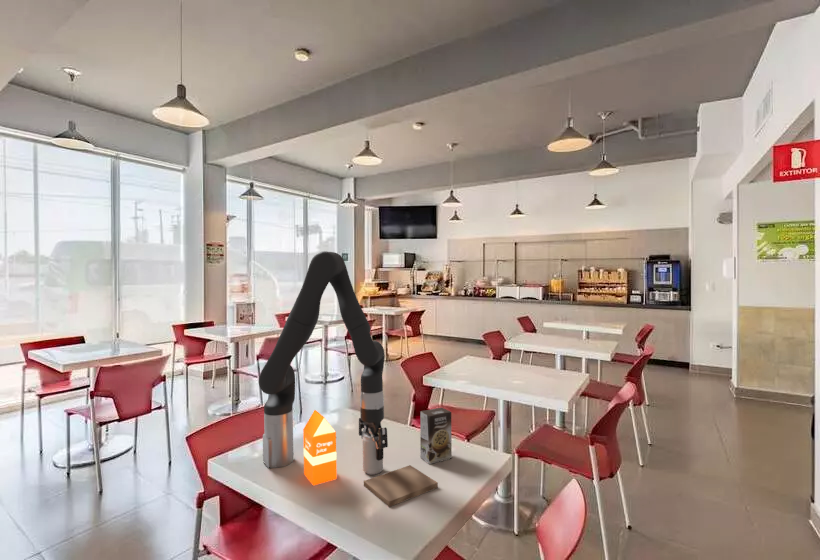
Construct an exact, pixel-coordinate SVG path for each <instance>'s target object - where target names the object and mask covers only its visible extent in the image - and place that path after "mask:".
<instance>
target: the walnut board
mask: <svg viewBox="0 0 820 560" xmlns="http://www.w3.org/2000/svg"><path fill="white" fill-rule="evenodd" d="M438 484H439V482H437V481H436V480H434V479H432V478H431V477H429V476H428V475H427V474H425V473H424V472H422V471H420V470H418V469H417V468H415V467H414V466H412V465H410V464H408V465H406V466H403V467H400V468H398V469H395V470H392V471H389V472H386V473H384V474H383V473H382V474H381V475H378V476H374V477H371V478H368V479H366V480H363V487H365V489H367V490H368V491H369V492H370V493H371V494H372V495H374V496H375V497H377V498H378V499H379V500H380V501H381V502H382V503H384V505H386V506H387V507H389V508H390V507H393V506H395V505H398V504H400V503H402V502H403V503H404V502H406V501H408V500H411V499H413V498H416V497H418V496H420V495H423V494H425V493H429V492H431V491H433V490H436V489H438V487H439V485H438Z"/></svg>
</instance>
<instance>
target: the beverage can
mask: <svg viewBox="0 0 820 560" xmlns="http://www.w3.org/2000/svg"><path fill="white" fill-rule="evenodd" d="M378 437H379V436H377V437H375V438H378ZM361 441H362V471H363V472H364V473H365V474H367V475H370V476H373V475H378V474H380V473H381V472H383V470H384V458H383V459H382V460H379V461H378V460H377V459H376V445H375V442H373V441H372V437H371V436H370V435H369V434H368V433H367V432H366V433H364V437H363V439H362V438H361ZM378 444H379V441H378Z"/></svg>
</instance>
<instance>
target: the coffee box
mask: <svg viewBox="0 0 820 560" xmlns="http://www.w3.org/2000/svg"><path fill="white" fill-rule="evenodd" d="M419 412H420V419H419V420H420V433H419V434H420V444H419V445H420V448H419V449H420V453H419V454H420V455H419V456H420V458H421V459H422V460H423V461H425V462H426V463H427V464H428V465H432V464H436V463H439V461H440V462H443V461H442V460H444V461H447V460H446V459H448V460H451V459H450V458H452V453H453V451H452V450H453V449H452V444H453V443H452V411H450V410H449V409H445V408H444V407H437V408H431V409H426V410H421V411H419Z"/></svg>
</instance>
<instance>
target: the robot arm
mask: <svg viewBox="0 0 820 560" xmlns="http://www.w3.org/2000/svg"><path fill="white" fill-rule="evenodd" d="M329 283H330V285H331V286H332V288H333V291H334V292H335V294H336V298H337V302H338V306H339V312H340V316H341V320H342V322H343V323H344V326H345V328H346V330H347V332H348V334H349V335H350V337H351V338H350V339H351V342H352V346H353V350H354V354H355V356H356V358H357V360H358V362H360V363H361V365H362V366H363V371H362V373H361V375H360V396H359V398H360V399H359V402H360V403H359V404H360V406H359V407H360V409H359V410H360V411H359V413H360V417H359V418H358V435H359V436H361V437H360V438H361V440H362V439H363V437H364V433H366V432H367V433H368V434H369V435H370V436H371V437H372V441H373V442H375V445H376V459H377V460H378V461H379V460H382V459H383V460H384V449H386V448H388V447H389V444H388V443H389V442H388V428H387V427H382V424H381V422H382V421H383V420H384V419H385V401H384V400H385V399H384V397H385V396H384V391H383V390H384V387H383V386H384V385H383V384H384V381H383V380H384V379H383V372H384V366H385V365H384V364H385V349H384V346H383V344H382V343H381V342H379V341H378V340H373V338H372V336H371V331H372V328H371V325H370V323H369V321H368V318H367V316H366V315H365V313H364V310H363V308H362V306H361V305H360V302H359V300H358V297H357V295H356V292H355V290H354V287H353V284H352V282H351V278H350V275H349V271H348V269H347V265H346V261H345V260H344V258H343V257H342V255H341V254H339V253H337V252H334V251H327V250H326V251H325V250H324V251H319V252H317V253H316V254H315V255H313V257H312V259H311V260H310V262H309V266H308V269H307V271H306V274H305V278H304V281H303V283H302V285H301V286H302V287H301V289H300V291H299V293H298V295H297V297H296V299H295V301H294V304H293V306H292V308H291V310H290V312H289V314H288V317H287V318H286V320H285V323H284V326H283V328H282V330H281V332H280V335H279V336H278V338H277V342H276V343H275V346H274V349H273V350H272V352H271V354H270V357H268V359H267V361H266V362H265V365H264V366H263V368H262V369H261V372H260V374H259V377H258V387H259V389H260V390H261V391H262V392H263V393H264V394H265V395H269V396H268V398H267V400H266V401H265V403H264V405H263V416H264V417H263V420H264V421H263V422H264V426H263V427H264V429H263V430H264V431H263V432H264V433H263V434H262V461H264V462H265V464H266V465H267V466H266V465H265V464H264V465H265V466H266V467H267V469H270V468H269V467H272V468H281V467H286V466H288V465H290V464H292V463H293V461H294V455H295V454H294V453H295V452H294V422H293V421H294V417H293V416H294V415H293V413H294V412H293V409H294V408H293V407H294V406H293V405H294V403H295V399H296V397H295V396H296V374H295V370H294V368H293V366H292V365H291V363H292V362H293V360H294V358H295V357H296V356H297V355H298V353H299V352H300V351H301V350H302V349H303V347H304V346H305V345H306V344H307V342H308V341H309V340H310V338H311V336H312V334H313V332H314V330H315V327H316V326H317V323H318V320H319V316H320V310H321V300H322V297H323V294H324V292H325V290H326V288H327V286H328V285H329ZM377 436H379V437H378V438H375V437H377ZM378 441H379V444H378ZM264 462H263V463H264Z"/></svg>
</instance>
